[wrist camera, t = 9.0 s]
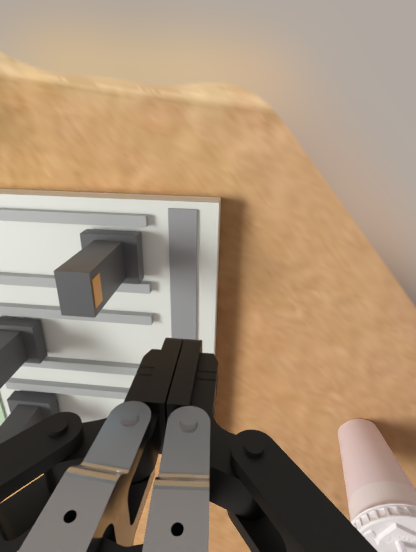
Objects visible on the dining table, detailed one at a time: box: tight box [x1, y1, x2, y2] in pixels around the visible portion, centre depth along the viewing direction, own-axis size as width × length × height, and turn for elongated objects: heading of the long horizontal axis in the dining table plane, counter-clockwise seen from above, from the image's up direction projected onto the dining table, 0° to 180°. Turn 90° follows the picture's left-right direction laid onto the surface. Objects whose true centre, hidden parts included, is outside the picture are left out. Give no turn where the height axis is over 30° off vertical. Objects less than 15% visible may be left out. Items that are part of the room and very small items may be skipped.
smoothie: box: [338, 419, 416, 552], centre depth 26 cm, size 6×6×14 cm
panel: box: [0, 189, 221, 444], centre depth 27 cm, size 24×24×9 cm
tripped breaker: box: [54, 229, 144, 318], centre depth 22 cm, size 4×4×7 cm
